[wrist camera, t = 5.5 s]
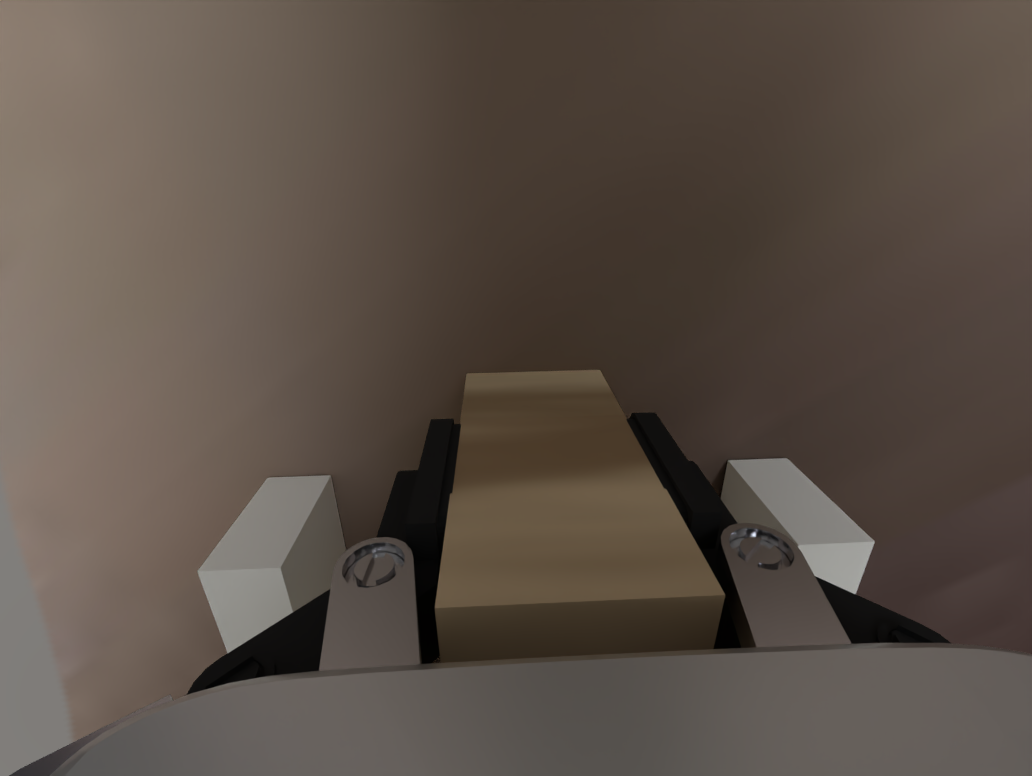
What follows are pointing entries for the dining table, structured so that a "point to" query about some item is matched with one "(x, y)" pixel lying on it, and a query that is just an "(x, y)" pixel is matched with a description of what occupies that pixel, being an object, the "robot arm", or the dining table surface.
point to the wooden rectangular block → (563, 531)
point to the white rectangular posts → (320, 543)
